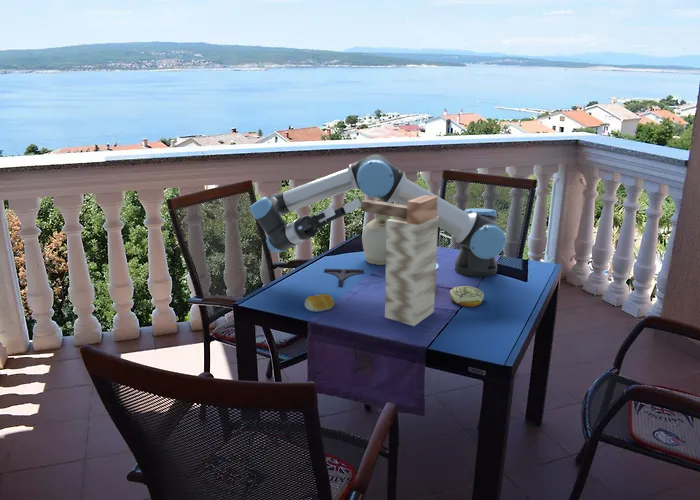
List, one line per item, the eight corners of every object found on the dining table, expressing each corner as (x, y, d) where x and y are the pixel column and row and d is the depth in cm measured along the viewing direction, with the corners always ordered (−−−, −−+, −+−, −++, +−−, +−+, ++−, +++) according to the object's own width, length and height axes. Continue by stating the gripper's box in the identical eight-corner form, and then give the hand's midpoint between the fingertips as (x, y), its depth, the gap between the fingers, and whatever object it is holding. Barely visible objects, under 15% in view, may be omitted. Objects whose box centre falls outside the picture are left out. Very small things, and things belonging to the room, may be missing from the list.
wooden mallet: (354, 213, 162) (353, 193, 160) (372, 206, 170) (373, 187, 168) (419, 224, 150) (420, 203, 148) (436, 217, 157) (437, 196, 155)
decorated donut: (454, 308, 170) (454, 297, 169) (446, 295, 180) (447, 284, 179) (487, 307, 171) (488, 296, 170) (477, 294, 181) (478, 283, 180)
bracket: (319, 287, 189) (319, 279, 188) (324, 272, 203) (324, 265, 202) (361, 288, 188) (361, 281, 187) (363, 273, 202) (363, 266, 201)
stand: (384, 317, 164) (386, 220, 154) (405, 304, 173) (408, 211, 164) (414, 326, 158) (417, 225, 149) (433, 312, 167) (438, 216, 158)
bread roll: (338, 308, 171) (338, 296, 170) (313, 314, 166) (313, 302, 165) (325, 299, 178) (324, 287, 176) (300, 305, 173) (300, 293, 172)
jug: (393, 269, 204) (394, 203, 196) (355, 263, 210) (355, 199, 202) (407, 257, 217) (409, 195, 209) (371, 252, 223) (371, 191, 215)
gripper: (329, 231, 192) (374, 209, 179) (280, 249, 173) (326, 226, 160) (321, 211, 192) (364, 188, 179) (271, 227, 173) (315, 202, 160)
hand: (346, 206), depth 169 cm, fingers open, 13 cm apart
